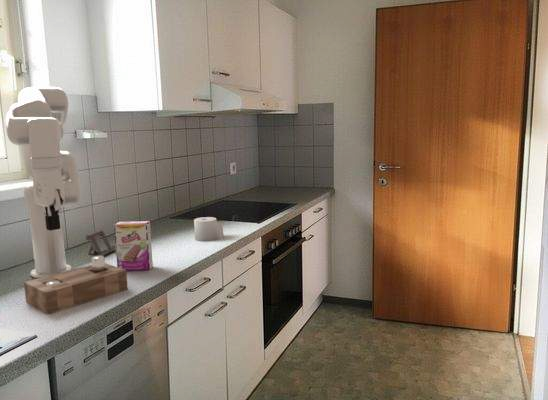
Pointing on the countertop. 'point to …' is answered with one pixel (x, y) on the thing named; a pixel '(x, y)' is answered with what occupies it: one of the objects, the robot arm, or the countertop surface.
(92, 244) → the portable electronic device stand
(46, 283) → the front peg
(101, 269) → the back peg
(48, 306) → the walnut block
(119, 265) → the candy bar box
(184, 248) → the countertop surface
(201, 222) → the toilet tissue
